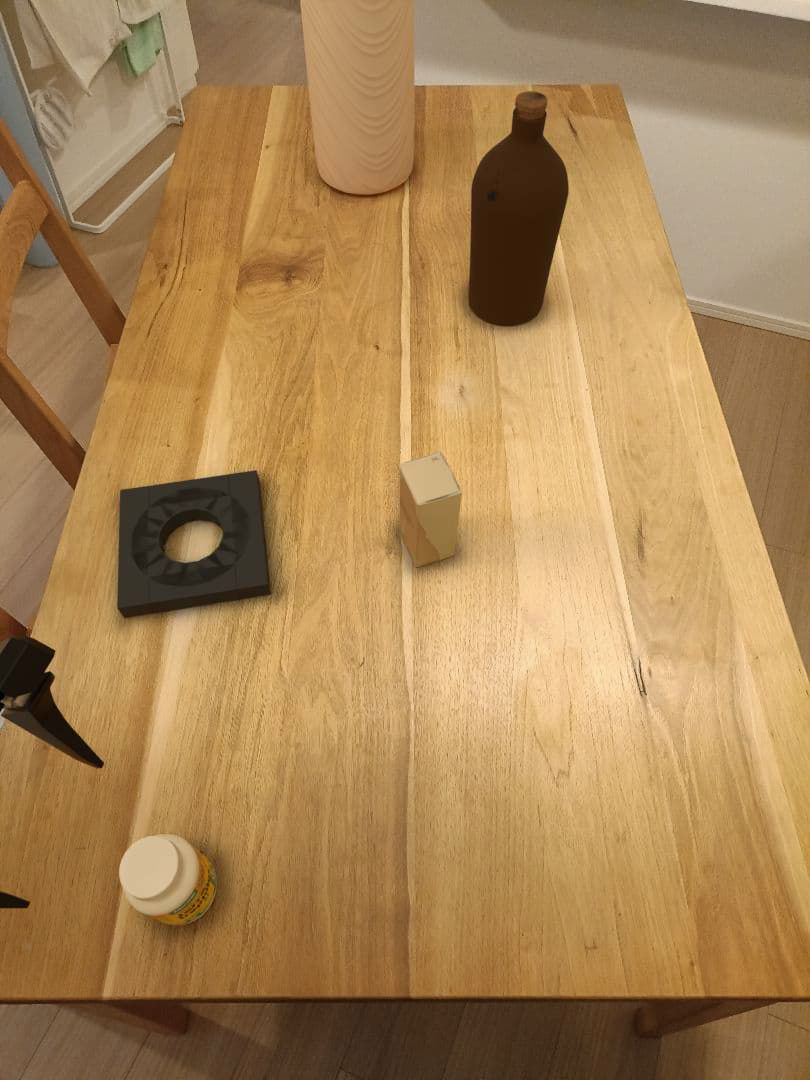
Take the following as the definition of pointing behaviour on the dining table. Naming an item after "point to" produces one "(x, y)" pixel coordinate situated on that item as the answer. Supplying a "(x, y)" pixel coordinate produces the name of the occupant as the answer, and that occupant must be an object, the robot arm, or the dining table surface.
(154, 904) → the supplement bottle
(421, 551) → the box
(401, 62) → the vase
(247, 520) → the socket pad
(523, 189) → the olive oil
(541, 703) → the dining table surface
